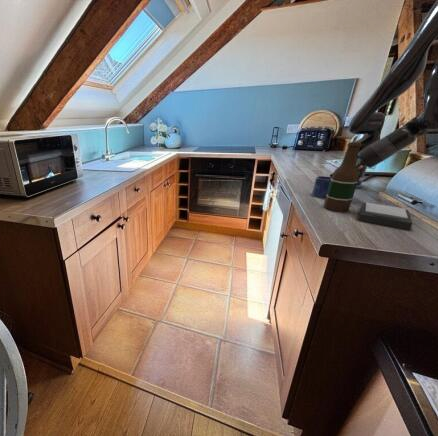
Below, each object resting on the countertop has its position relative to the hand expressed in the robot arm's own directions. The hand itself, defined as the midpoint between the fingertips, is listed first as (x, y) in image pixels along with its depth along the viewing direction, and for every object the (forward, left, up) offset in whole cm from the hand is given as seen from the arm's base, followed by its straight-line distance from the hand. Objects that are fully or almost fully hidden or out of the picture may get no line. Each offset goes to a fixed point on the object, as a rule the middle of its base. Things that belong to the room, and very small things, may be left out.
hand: (331, 179), depth 102 cm
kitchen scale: (+17, +18, -8) cm, 26 cm away
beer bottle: (+15, +5, -8) cm, 18 cm away
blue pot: (0, -2, -8) cm, 8 cm away
